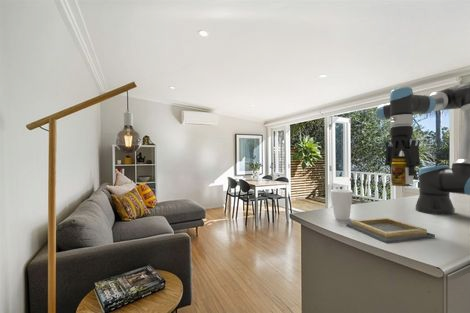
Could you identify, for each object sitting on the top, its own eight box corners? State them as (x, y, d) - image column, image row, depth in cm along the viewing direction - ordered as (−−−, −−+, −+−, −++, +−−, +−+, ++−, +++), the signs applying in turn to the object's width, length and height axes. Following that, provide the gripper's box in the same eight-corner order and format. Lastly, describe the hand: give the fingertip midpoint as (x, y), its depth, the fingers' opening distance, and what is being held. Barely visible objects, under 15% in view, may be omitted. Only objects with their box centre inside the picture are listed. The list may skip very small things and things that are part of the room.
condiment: (391, 186, 93) (391, 156, 93) (388, 183, 101) (387, 156, 101) (414, 187, 90) (414, 155, 90) (408, 184, 97) (408, 156, 98)
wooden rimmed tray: (387, 222, 101) (387, 216, 101) (434, 237, 81) (434, 230, 81) (346, 225, 97) (346, 219, 97) (386, 242, 78) (385, 235, 78)
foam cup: (333, 220, 106) (332, 191, 106) (329, 215, 115) (329, 189, 115) (355, 221, 103) (355, 192, 104) (350, 216, 112) (350, 189, 113)
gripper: (375, 129, 103) (375, 181, 103) (415, 122, 85) (416, 186, 84) (389, 129, 105) (389, 180, 105) (432, 123, 86) (433, 185, 86)
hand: (401, 183), depth 95 cm, fingers closed on condiment, 6 cm apart
